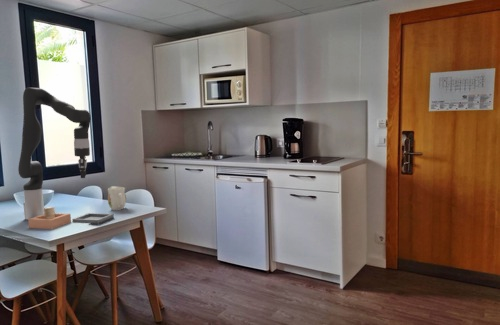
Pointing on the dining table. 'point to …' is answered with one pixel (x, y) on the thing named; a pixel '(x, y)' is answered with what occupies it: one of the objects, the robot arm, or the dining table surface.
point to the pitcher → (116, 197)
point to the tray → (94, 218)
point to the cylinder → (49, 212)
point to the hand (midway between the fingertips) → (83, 176)
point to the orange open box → (49, 221)
